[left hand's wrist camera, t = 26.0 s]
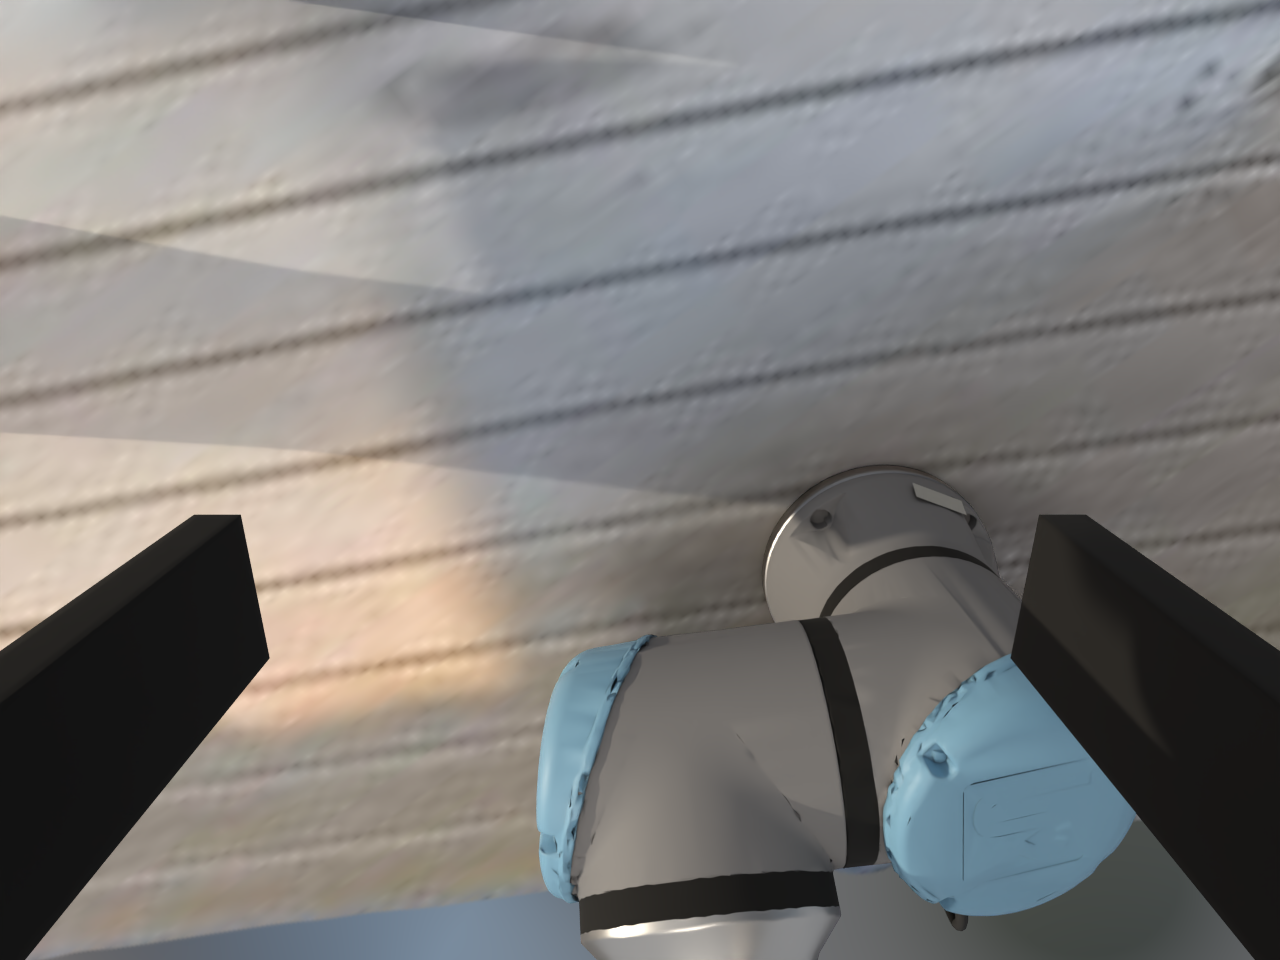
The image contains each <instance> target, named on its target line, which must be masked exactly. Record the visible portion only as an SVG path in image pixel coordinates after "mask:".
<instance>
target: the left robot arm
mask: <svg viewBox="0 0 1280 960" xmlns="http://www.w3.org/2000/svg"><path fill="white" fill-rule="evenodd" d="M762 580H763V589H764V594H765V598H766V601H767V604H768V607H769V610H770V613H771V616H772V618H773V620H774V622H775V623H768V624H761V625H753V626H745V627H738V628H730V629H722V630H714V631H705V632H696V633H687V634H678V635H669V636H660V637H657V636H654V635H645V636H643V637H641V638H639V639H638V640H636V641H631V642H626V643H621V644H615V645H609V646H603V647H597V648H593V649H589V650H586V651H584V652H582V653H580V654H578V655H577V656H576V657H574V658H573V659H572V660H571V661H570V662H569V663H568V665H567V666H566V667H565V668H564V670H563V671H562V673H561V675H560V677H559V680H558V682H557V683H556V685H555V688H554V690H553V693H552V696H551V699H550V703H549V706H548V710H547V715H546V719H545V725H544V730H543V736H542V742H541V750H540V759H539V769H538V785H537V827H538V830H539V831H540V832H541V834H540V846H539V858H540V866H541V871H542V875H543V879H544V882H545V884H546V886H547V888H548V890H549V891H550V892H551V893H552V894H553V895H554V896H555V897H557V898H562V899H564V900H565V901H566V902H568V903H575V902H579V907H580V931H581V944H582V945H583V946H584V947H585V948H586V949H587V950H588V951H589V952H590V953H591V954H592V955H593V956H594V957H595V958H596V959H597V960H818V956H819V953H820V951H821V949H822V947H823V946H824V944H825V942H826V941H827V939H828V937H829V935H830V934H831V932H832V930H833V929H834V927H835V925H836V923H837V922H838V920H839V918H840V916H841V911H840V906H839V902H838V897H837V892H836V887H835V882H834V877H833V871H834V869H839V868H848V867H857V866H866V865H876V864H885V863H892V866H893V869H894V871H895V872H896V873H898V874H899V877H900V878H901V879H903V880H904V881H905V882H906V883H907V884H908V885H909V887H910V888H911V889H912V890H913V891H914V892H915V893H916V894H917V895H919V896H920V897H921V898H922V899H924V900H926V901H928V902H930V903H932V904H933V903H937V902H939V903H940V904H941V906H942V907H943V908H944V910H945V912H946V915H947V917H948V919H949V921H950V923H951V925H952V926H953V927H954V928H955V929H956V930H958V931H963V930H965V929H966V926H967V923H968V915H969V916H996V915H1003V914H1009V913H1015V912H1019V911H1022V910H1026V909H1029V908H1032V907H1035V906H1038V905H1041V904H1043V903H1045V902H1048V901H1050V900H1052V899H1054V898H1056V897H1058V896H1060V895H1062V894H1063V893H1065V892H1067V891H1069V890H1070V889H1072V888H1073V887H1075V886H1076V885H1077V884H1079V883H1080V882H1081V881H1083V880H1084V879H1086V878H1087V877H1088V876H1090V875H1091V874H1092V873H1093V872H1094V870H1095V869H1096V867H1097V866H1098V865H1099V864H1100V862H1102V861H1103V860H1104V859H1105V858H1107V857H1108V856H1109V855H1110V854H1111V853H1113V851H1114V850H1115V849H1116V848H1117V846H1118V845H1119V844H1120V842H1121V841H1122V839H1123V838H1124V836H1125V835H1126V833H1127V832H1128V830H1129V828H1130V826H1131V824H1132V822H1133V820H1134V818H1135V815H1136V814H1137V815H1138V816H1139V817H1140V819H1141V820H1142V821H1143V822H1144V824H1145V825H1146V826H1147V827H1148V828H1149V830H1150V831H1151V832H1152V833H1153V835H1154V836H1155V837H1156V838H1157V840H1158V841H1159V842H1160V843H1161V844H1162V846H1163V847H1164V848H1165V849H1166V851H1167V852H1168V853H1169V854H1170V856H1171V857H1172V858H1173V859H1174V861H1175V862H1176V863H1177V864H1178V865H1179V867H1180V868H1181V869H1182V870H1183V872H1184V873H1185V874H1186V875H1187V877H1188V878H1189V879H1190V880H1191V882H1192V883H1193V884H1194V885H1195V886H1196V888H1197V889H1198V890H1199V891H1200V893H1201V894H1202V895H1203V896H1204V898H1205V899H1206V900H1207V901H1208V902H1209V904H1210V905H1211V906H1212V907H1213V909H1214V910H1215V911H1216V912H1217V914H1218V915H1219V916H1220V917H1221V919H1222V920H1223V921H1224V922H1225V923H1226V925H1227V926H1228V927H1229V928H1230V930H1231V931H1232V932H1233V933H1234V935H1235V936H1236V937H1237V938H1238V939H1239V941H1240V942H1241V943H1242V944H1243V946H1244V947H1245V948H1246V949H1247V951H1248V952H1249V953H1250V954H1251V956H1252V957H1253V958H1254V959H1255V960H1280V651H1279V650H1277V649H1276V648H1275V647H1273V646H1272V645H1270V644H1269V643H1268V642H1266V641H1265V640H1263V639H1262V638H1260V637H1259V636H1258V635H1256V634H1255V633H1253V632H1252V631H1250V630H1249V629H1248V628H1246V627H1245V626H1243V625H1242V624H1240V623H1239V622H1238V621H1236V620H1235V619H1233V618H1232V617H1231V616H1229V615H1228V614H1226V613H1225V612H1223V611H1222V610H1221V609H1219V608H1218V607H1216V606H1215V605H1213V604H1212V603H1211V602H1209V601H1208V600H1206V599H1205V598H1204V597H1202V596H1201V595H1199V594H1198V593H1196V592H1195V591H1194V590H1192V589H1191V588H1189V587H1188V586H1186V585H1185V584H1184V583H1182V582H1181V581H1179V580H1178V579H1176V578H1175V577H1174V576H1172V575H1171V574H1169V573H1168V572H1167V571H1165V570H1164V569H1162V568H1161V567H1159V566H1158V565H1157V564H1155V563H1154V562H1152V561H1151V560H1149V559H1148V558H1147V557H1145V556H1144V555H1142V554H1141V553H1140V552H1138V551H1137V550H1135V549H1134V548H1132V547H1131V546H1130V545H1128V544H1127V543H1125V542H1124V541H1122V540H1121V539H1120V538H1118V537H1117V536H1115V535H1114V534H1113V533H1111V532H1110V531H1108V530H1107V529H1105V528H1104V527H1103V526H1101V525H1100V524H1098V523H1097V522H1095V521H1094V520H1093V519H1091V518H1090V517H1088V516H1087V515H1039V519H1038V524H1037V529H1036V534H1035V539H1034V544H1033V548H1032V553H1031V558H1030V563H1029V568H1028V573H1027V578H1026V583H1025V588H1024V593H1023V598H1022V600H1021V599H1020V598H1019V597H1018V596H1017V595H1016V594H1015V593H1014V592H1013V591H1012V590H1011V589H1010V588H1009V587H1008V586H1007V585H1006V584H1005V583H1004V582H1003V581H1002V580H1001V579H1000V576H999V572H998V568H997V564H996V559H995V555H994V551H993V547H992V543H991V540H990V537H989V535H988V533H987V530H986V528H985V527H984V525H983V523H982V521H981V520H980V518H979V516H978V515H977V513H976V512H975V511H974V509H973V508H972V507H971V506H970V505H969V503H968V502H967V501H966V500H965V499H964V498H963V497H961V496H960V495H959V494H958V493H957V492H956V491H955V490H954V489H952V488H951V487H950V486H949V485H947V484H946V483H944V482H943V481H941V480H940V479H938V478H936V477H934V476H932V475H930V474H927V473H925V472H922V471H919V470H915V469H912V468H907V467H901V466H890V465H880V466H868V467H862V468H857V469H853V470H849V471H846V472H843V473H840V474H838V475H835V476H832V477H830V478H828V479H826V480H824V481H822V482H821V483H819V484H817V485H816V486H814V487H812V488H811V489H810V490H808V491H807V492H806V493H804V494H803V495H802V496H801V497H800V498H799V499H797V500H796V501H795V502H794V503H793V504H792V505H791V506H790V508H789V509H788V510H787V511H786V512H785V514H784V515H783V516H782V517H781V519H780V520H779V522H778V523H777V525H776V527H775V528H774V530H773V532H772V534H771V536H770V539H769V542H768V544H767V547H766V551H765V555H764V560H763V569H762ZM268 659H269V653H268V648H267V643H266V638H265V633H264V628H263V623H262V618H261V613H260V608H259V603H258V598H257V593H256V588H255V583H254V578H253V573H252V568H251V563H250V558H249V553H248V548H247V544H246V539H245V534H244V529H243V524H242V519H241V515H193V516H192V517H190V518H189V519H187V520H186V521H185V522H183V523H182V524H180V525H179V526H177V527H176V528H175V529H173V530H172V531H170V532H169V533H167V534H166V535H165V536H163V537H162V538H160V539H159V540H158V541H156V542H155V543H153V544H152V545H150V546H149V547H148V548H146V549H145V550H143V551H142V552H140V553H139V554H138V555H136V556H135V557H133V558H132V559H131V560H129V561H128V562H126V563H125V564H123V565H122V566H121V567H119V568H118V569H116V570H115V571H113V572H112V573H111V574H109V575H108V576H106V577H105V578H104V579H102V580H101V581H99V582H98V583H96V584H95V585H94V586H92V587H91V588H89V589H88V590H86V591H85V592H84V593H82V594H81V595H79V596H78V597H76V598H75V599H74V600H72V601H71V602H69V603H68V604H67V605H65V606H64V607H62V608H61V609H59V610H58V611H57V612H55V613H54V614H52V615H51V616H49V617H48V618H47V619H45V620H44V621H42V622H41V623H40V624H38V625H37V626H35V627H34V628H32V629H31V630H30V631H28V632H27V633H25V634H24V635H22V636H21V637H20V638H18V639H17V640H15V641H14V642H12V643H11V644H10V645H8V646H7V647H5V648H4V649H3V650H1V651H0V960H25V959H26V958H27V957H28V956H29V954H30V953H31V952H32V951H33V949H34V948H35V947H36V946H37V944H38V943H39V942H40V941H41V940H42V938H43V937H44V936H45V935H46V933H47V932H48V931H49V930H50V928H51V927H52V926H53V925H54V923H55V922H56V921H57V920H58V919H59V917H60V916H61V915H62V914H63V912H64V911H65V910H66V909H67V907H68V906H69V905H70V904H71V902H72V901H73V900H74V899H75V898H76V896H77V895H78V894H79V893H80V891H81V890H82V889H83V888H84V886H85V885H86V884H87V883H88V882H89V880H90V879H91V878H92V877H93V875H94V874H95V873H96V872H97V870H98V869H99V868H100V867H101V865H102V864H103V863H104V862H105V861H106V859H107V858H108V857H109V856H110V854H111V853H112V852H113V851H114V849H115V848H116V847H117V846H118V845H119V843H120V842H121V841H122V840H123V838H124V837H125V836H126V835H127V833H128V832H129V831H130V830H131V828H132V827H133V826H134V825H135V824H136V822H137V821H138V820H139V819H140V817H141V816H142V815H143V814H144V812H145V811H146V810H147V809H148V808H149V806H150V805H151V804H152V803H153V801H154V800H155V799H156V798H157V796H158V795H159V794H160V793H161V791H162V790H163V789H164V788H165V787H166V785H167V784H168V783H169V782H170V780H171V779H172V778H173V777H174V775H175V774H176V773H177V772H178V771H179V769H180V768H181V767H182V766H183V764H184V763H185V762H186V761H187V759H188V758H189V757H190V756H191V754H192V753H193V752H194V751H195V750H196V748H197V747H198V746H199V745H200V743H201V742H202V741H203V740H204V738H205V737H206V736H207V735H208V733H209V732H210V731H211V730H212V729H213V727H214V726H215V725H216V724H217V722H218V721H219V720H220V719H221V717H222V716H223V715H224V714H225V713H226V711H227V710H228V709H229V708H230V706H231V705H232V704H233V703H234V701H235V700H236V699H237V698H238V696H239V695H240V694H241V693H242V692H243V690H244V689H245V688H246V687H247V685H248V684H249V683H250V682H251V680H252V679H253V678H254V677H255V676H256V674H257V673H258V672H259V671H260V669H261V668H262V667H263V666H264V664H265V663H266V662H267V661H268Z"/></svg>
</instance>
